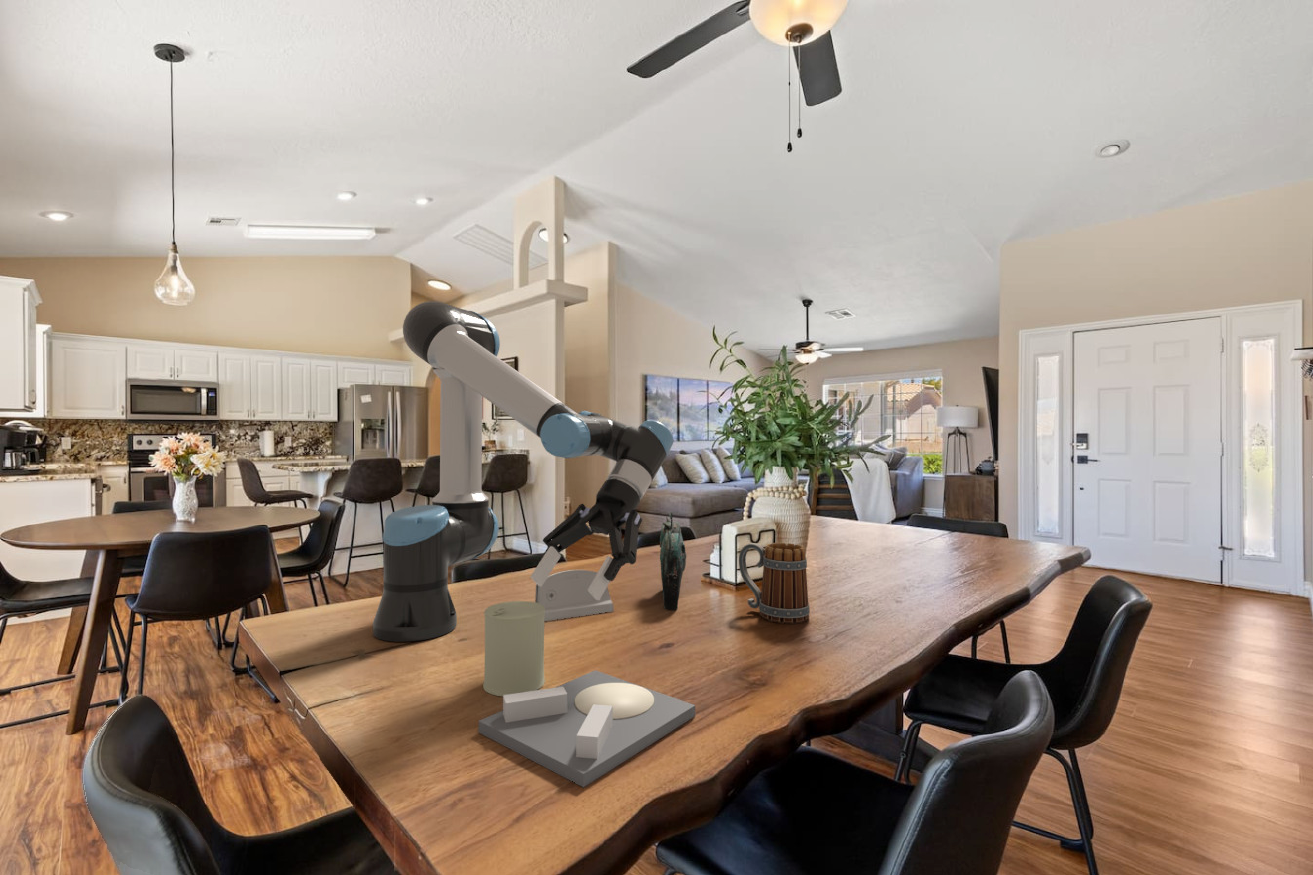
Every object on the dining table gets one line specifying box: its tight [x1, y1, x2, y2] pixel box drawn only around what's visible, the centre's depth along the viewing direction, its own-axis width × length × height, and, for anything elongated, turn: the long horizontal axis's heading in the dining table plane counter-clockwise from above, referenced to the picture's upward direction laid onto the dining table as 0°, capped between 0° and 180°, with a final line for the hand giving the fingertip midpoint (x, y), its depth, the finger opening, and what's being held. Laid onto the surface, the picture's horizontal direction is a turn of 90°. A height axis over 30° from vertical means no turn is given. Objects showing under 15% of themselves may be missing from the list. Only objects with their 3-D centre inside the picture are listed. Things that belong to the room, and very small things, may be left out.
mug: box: [738, 542, 811, 625], centre depth 130 cm, size 16×11×15 cm
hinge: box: [534, 569, 615, 622], centre depth 130 cm, size 17×5×10 cm, turn 118°
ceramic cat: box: [659, 511, 687, 611], centre depth 141 cm, size 20×6×20 cm, turn 178°
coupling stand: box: [478, 669, 696, 788], centre depth 80 cm, size 19×22×4 cm
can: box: [482, 600, 546, 697], centre depth 93 cm, size 9×9×12 cm
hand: (563, 588), depth 99 cm, fingers open, 13 cm apart
